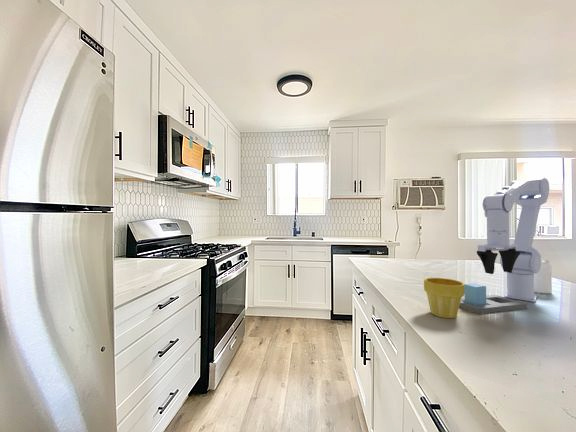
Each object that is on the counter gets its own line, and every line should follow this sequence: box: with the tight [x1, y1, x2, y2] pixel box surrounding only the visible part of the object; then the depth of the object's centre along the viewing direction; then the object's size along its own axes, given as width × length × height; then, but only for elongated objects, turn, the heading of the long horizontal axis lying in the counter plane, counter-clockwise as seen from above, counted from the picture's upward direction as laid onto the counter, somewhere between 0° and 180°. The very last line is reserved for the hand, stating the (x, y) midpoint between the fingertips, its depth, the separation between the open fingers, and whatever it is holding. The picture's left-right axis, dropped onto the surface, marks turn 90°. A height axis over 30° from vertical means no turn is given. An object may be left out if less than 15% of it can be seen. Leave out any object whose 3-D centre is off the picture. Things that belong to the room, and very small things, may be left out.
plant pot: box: [423, 277, 466, 319], centre depth 77 cm, size 10×10×10 cm
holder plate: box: [459, 294, 528, 315], centre depth 84 cm, size 10×19×2 cm, turn 104°
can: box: [534, 259, 553, 295], centre depth 100 cm, size 6×6×12 cm
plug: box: [464, 283, 487, 306], centre depth 83 cm, size 4×4×7 cm
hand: (498, 272), depth 85 cm, fingers open, 7 cm apart
